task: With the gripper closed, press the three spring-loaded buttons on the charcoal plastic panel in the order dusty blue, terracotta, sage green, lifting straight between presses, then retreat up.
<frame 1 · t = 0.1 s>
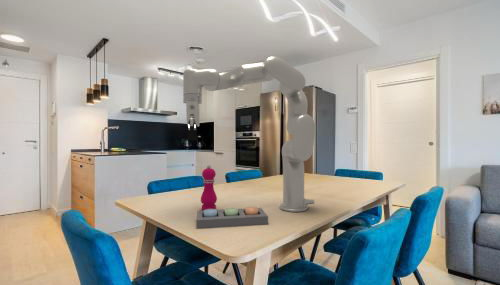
hand: (192, 140, 108), 31 cm above the table, fingers open, 9 cm apart
sage button: (231, 213, 99), point 3 cm above the table, slide at 0.0 cm
blue button: (210, 214, 97), point 3 cm above the table, slide at 0.0 cm
terracotta button: (251, 212, 100), point 3 cm above the table, slide at 0.0 cm
button panel: (231, 221, 99), on the table
pepper mill: (208, 209, 116), on the table
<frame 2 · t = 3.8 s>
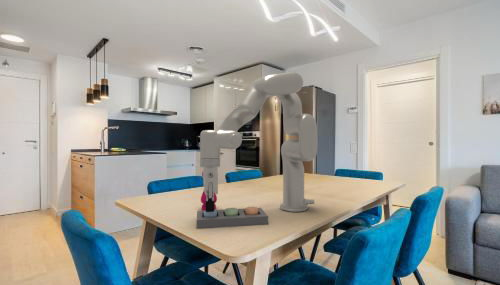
hand: (209, 211, 97), 4 cm above the table, fingers closed
blue button: (210, 215, 97), point 3 cm above the table, slide at 0.2 cm, touching gripper
everything else where it was.
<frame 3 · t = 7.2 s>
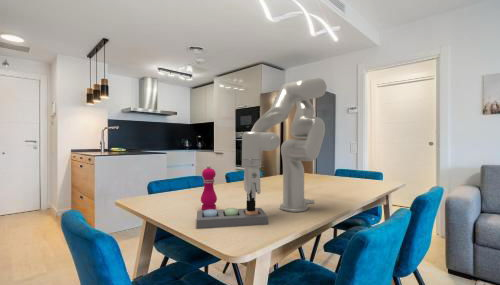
hand: (250, 210, 100), 4 cm above the table, fingers closed
blue button: (210, 214, 97), point 3 cm above the table, slide at 0.2 cm
terracotta button: (251, 214, 100), point 2 cm above the table, slide at 0.8 cm, touching gripper
everything else where it was.
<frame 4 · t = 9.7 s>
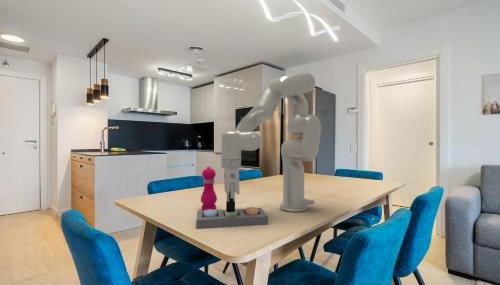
hand: (230, 211, 99), 4 cm above the table, fingers closed
sage button: (231, 215, 99), point 2 cm above the table, slide at 0.7 cm, touching gripper
terracotta button: (251, 212, 100), point 3 cm above the table, slide at 0.2 cm
everything else where it was.
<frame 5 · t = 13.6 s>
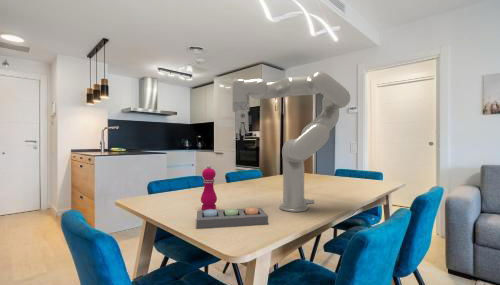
hand: (240, 149, 114), 27 cm above the table, fingers closed
sage button: (231, 213, 99), point 3 cm above the table, slide at 0.2 cm
everything else where it was.
at the end: sage button slide at 0.2 cm; blue button slide at 0.2 cm; pepper mill moved 0.2 cm from its start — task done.
